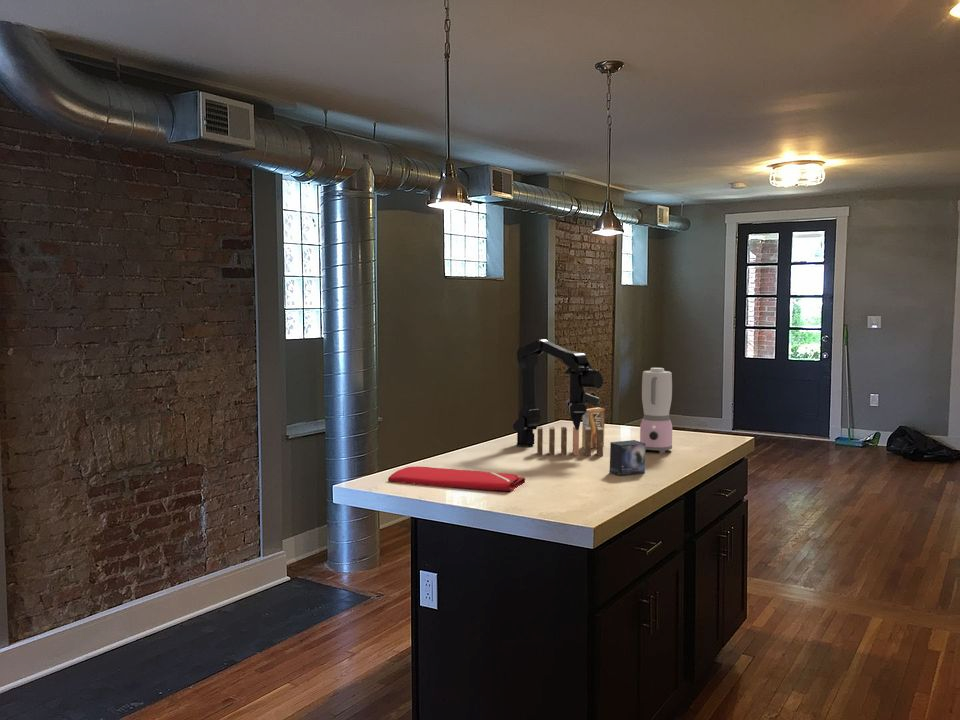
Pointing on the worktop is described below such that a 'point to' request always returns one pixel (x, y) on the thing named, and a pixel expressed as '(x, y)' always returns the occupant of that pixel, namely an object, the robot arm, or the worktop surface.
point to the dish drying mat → (458, 478)
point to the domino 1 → (540, 441)
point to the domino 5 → (587, 441)
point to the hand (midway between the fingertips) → (576, 427)
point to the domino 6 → (599, 441)
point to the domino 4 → (575, 441)
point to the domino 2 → (551, 440)
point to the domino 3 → (563, 440)
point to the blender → (656, 410)
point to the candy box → (593, 424)
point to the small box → (627, 457)
